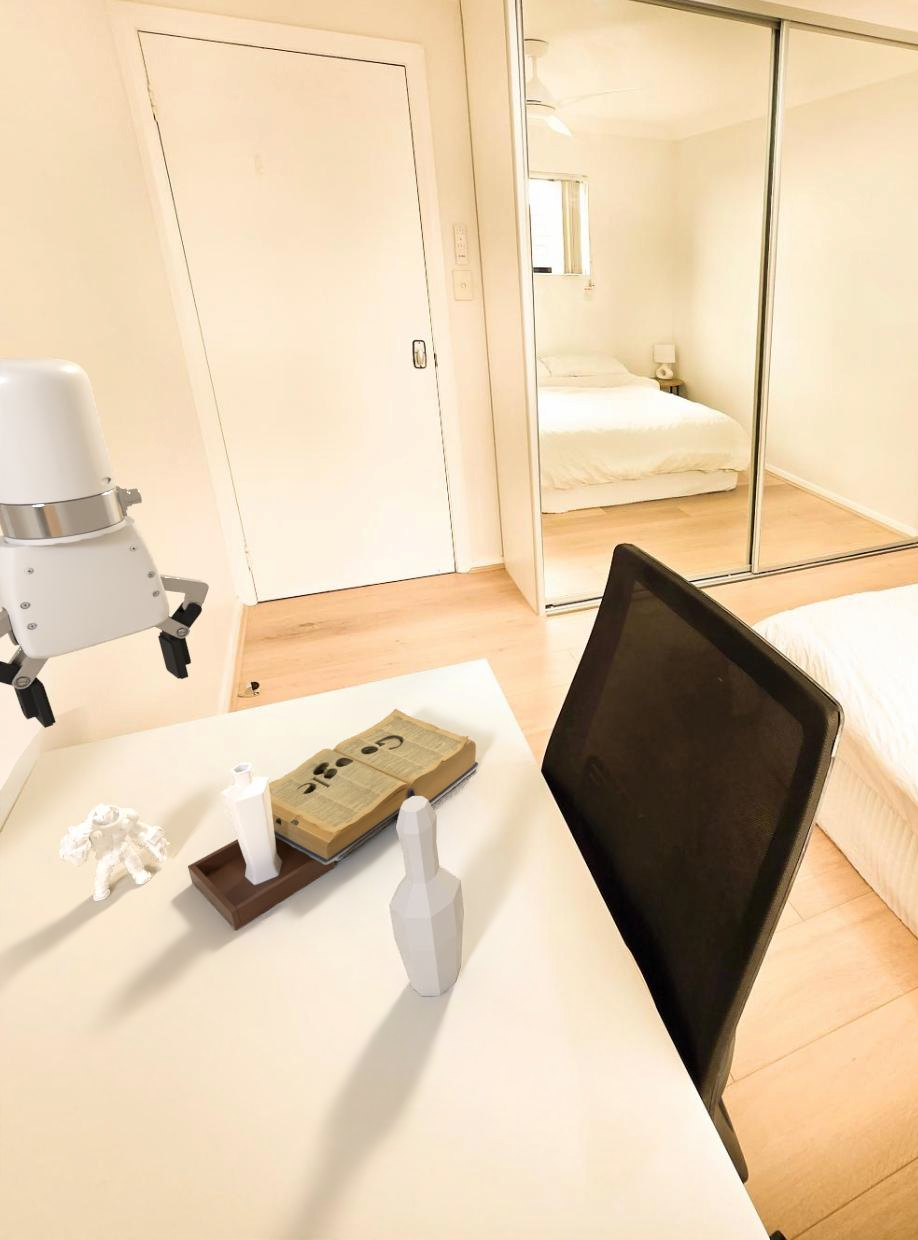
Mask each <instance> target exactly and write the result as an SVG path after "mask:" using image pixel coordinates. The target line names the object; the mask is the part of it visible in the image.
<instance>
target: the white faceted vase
mask: <svg viewBox="0 0 918 1240" xmlns="http://www.w3.org/2000/svg"><path fill="white" fill-rule="evenodd" d="M252 766H253V763H252V762H239V763H238V764H237V765H235V766H234V767H232V768H231V769H229V772H230V773H231V775H232V779H233V783H232V784H230V786H227V788H225V789H223V790H222V791H221V796H222V799H223V802H224V805H225V808H226V810H227V814H228V816H229V818H230V822H231V825H232V827H233V831H234V833H235V837H236V840H237V839H238V842H239V845H240V848H241V851H242V853H243V856H244V859H245V862H246V873H245V877H246V878H247V879H248V880H249V881H250V882H252V883H253V884H254V885H256V884H259V883H262V882H264V881H266V880H269V879H271V878H274V877H276V876H278V875H279V872H280V868H281V865H282V860H281V859H280V857H279V856H278V854H277V852H276V843H275V834H274V826H273V817H272V808H271V799H270V791H269V783H270V782H269V776H254V772H253V767H252Z"/></svg>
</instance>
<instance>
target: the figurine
mask: <svg viewBox="0 0 918 1240" xmlns="http://www.w3.org/2000/svg"><path fill="white" fill-rule="evenodd" d="M139 819H140V815H139V813H138V812H136V811H135V810H134V809H133V808H131V807H124V808H123V807H122V808H121V807H119V806H118V805H115V804H104V803H99V804H98V805H97V806H95V807H94V808H93V809H92V810H91V811H89V812H88V814H87V815H86V817H85V818H84V820H83V822H81V823H79V824H77V825H76V826H75V825H71V826H68V827H67V831H68V833H67V834H66V835H65V836H63V838H62V839H61V840H60V846H59V853H58V854H59V855H58V856H59V858H60V859H61V860H62V861H65V862H66V861H68V862H69V864H71V865H72V866H73V867H75V868H79V867H81V866H83V865H84V864H86V863H87V862H88V861H89V858H90V852H91V851H93V852H95V861H96V862H97V864H96V872H95V876H94V882H93V885H94V892H93V894H92V896H93V901H94V902H98V901H99V902H100V901H103V900H105V899H107V898H108V897H110V895H111V890H110V888H111V887H110V883H111V877H112V873H113V869H114V867H115V866H117V865H119V864H121V863H122V864H123V865H124V866H125V867H126V869H127V871H128V873H129V874H131V877H132V879H133V880H134V881H135V884H137V885H144V884H146V883H148V882H149V881H151V879H152V878H153V876H152V873H151V872H150V871H147V870H146V868H145V865H144V862H143V861H142V860H141V858H140V857H139V855H138V853H136V851H135V849H133V847H131V845H130V843H129V841H127V840H126V838H127V835H128V837H129V838H130V839H131V843H133V844H134V845H135V846H136V847H137V848H139V849H145V850H147V852H148V853H149V859H150V860H153V862H157V861H158V862H159V863H163V861H164V862H166V861H167V860H168V859H169V858H168V850H167V848H168V847H170V842H169V841H167V839H166V838H165V837H163V836H165V832H164V829H163V828H162V827H161V826H159V825H149V824H147V823H144V822H140V820H139Z"/></svg>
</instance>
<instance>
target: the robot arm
mask: <svg viewBox="0 0 918 1240" xmlns="http://www.w3.org/2000/svg"><path fill="white" fill-rule="evenodd" d="M142 502H143V499H142V494H141V492H140V490H139V489H138V488H136V487H135V488H129V489H127V488H121V486H119V485H117V481H116V477H115V472H114V469H113V466H112V462H111V457H110V453H109V450H108V446H107V442H106V437H105V434H104V430H103V427H102V421H101V418H100V415H99V411H98V407H97V403H96V398H95V395H94V391H93V387H92V383H91V381H90V378H89V375H88V374H87V372H86V371H85V369H83V367H82V366H80V365H79V364H78V363H76V362H74V361H72V360H68V359H63V358H55V357H0V529H1V531H2V535H0V639H1V638H3V637H4V636H6V635H8V637H9V640H10V641H11V643H12V644H13V645H14V646H19V647H18V648H17V649H16V651H15V652H14V654H13V655H12V657H11V658H10V660H9V661H8V662H5V661H1V660H0V683H2V684H5V685H8V686H11V687H13V688H14V692H15V694H16V698H17V701H18V703H19V704H18V705H19V707H20V710H21V712H22V714H23V716H24V718H25V719H26V720H30V719H31V720H32V719H34V718H35V719H36V720H37V721H38V722H39V723H40V724H41V725H42V726H43V728H44V729H46V728H50V727H52V726H54V724H56V718H55V715H54V712H53V710H52V709H53V708H52V707H51V702H50V700H49V697H48V694H47V691H46V687H45V685H44V683H43V682H42V681H41V680H40V679H39V678H38V675H39V673H40V672H41V670H42V669H43V668H44V666H45V665H46V663H47V662H48V660H49V659H51V658H56V657H59V656H63V655H67V654H70V653H74V652H78V651H80V650H81V651H82V650H84V649H87V648H90V647H94V646H95V647H96V646H98V645H101V644H105V643H107V642H111V641H115V640H118V639H121V638H125V637H128V636H131V635H135V634H138V633H141V632H144V631H147V630H150V629H154V628H156V629H158V630H160V631H159V635H158V636H157V638H158V643H159V645H160V649H161V652H162V658H163V662H164V665H165V666H164V667H165V669H166V671H167V672H168V673H170V674H171V675H173V676H174V678H177V679H178V680H184V679H186V678H189V671H188V668H187V665H190V664H191V663H192V659H191V656H190V651H189V647H188V642H187V637H188V636H189V634H190V632H191V631H190V628H191V627H192V626H193V625H194V624H195V622H196V620H197V619H198V618H199V616H200V615H201V613H202V612H203V608H202V606H203V604H204V602H205V600H206V597H207V595H208V591H209V589H210V586H209V584H208V583H207V582H205V581H203V580H202V579H201V580H200V579H197V578H188V577H181V576H175V575H168V574H161V573H160V572H159V569H158V567H157V564H156V561H155V560H154V557H153V554H152V552H151V550H150V548H149V545H148V542H147V541H146V540H147V539H146V538H145V536H144V534H143V532H142V531H141V529H140V527H139V525H138V523H137V522H136V520H135V519H134V518H133V517H131V516H129V515H128V512H127V511H128V510H129V509H128V508H130V507H133V505H137V504H141V503H142ZM166 592H173V593H182V594H184V597H183V601H182V602H181V603H180V605H179V606H178V607H177V609H176V610H175V612H174V613H173V614H172V615H171V616H170V605H169V600H168V596H167V593H166Z"/></svg>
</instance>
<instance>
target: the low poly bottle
mask: <svg viewBox="0 0 918 1240" xmlns="http://www.w3.org/2000/svg"><path fill="white" fill-rule="evenodd" d="M437 817H438V815H437V813H436V812H435V810H434V808H433V806H432V805H431V804H430V803H429V801H428V800H427V799H426V798H424V797H423V796H412V797H410V798H408V799H407V800H405V801H404V802H403V804H402V806H401V808H400V812H399V816H398V818H397V821H396V825H395V830H396V833H397V836H398V840H399V843H400V847H401V850H402V857H403V863H404V871H405V875H404V876H403V878H402V879H401V880H400V882H399V883H398V885H397V887H396V889H395V891H394V893H393V896H392V898H391V900H390V902H389V904H388V907H389V914H390V920H391V926H392V933H393V934H392V935H393V938H394V941H395V945H396V947H397V950H398V953H399V955H400V958H401V961H402V964H403V966H404V970H405V973H406V975H407V978H408V981H409V983H410V986H411V987H412V988H413V989H414V991H416V992H417V993H418V994H419V995H420V996H421V997H441V996H442V995H443V994H444V993H446V992H447V991H448V990H449V989H450V988H451V987H452V986H453V985H454V984H455V983H456V982H457V980H458V976H459V972H460V969H461V966H462V953H463V952H462V951H463V936H464V935H463V932H464V931H463V930H464V917H465V909H464V898H463V891H462V890H463V889H462V881H461V879H459V877H457V876H456V875H455V874H453V873H452V872H451V871H450V870H448V869H446V868H445V867H444V866H442V865H440V861H439V852H438V842H437V835H438V834H437V833H438V832H437V826H438V825H437V824H438V823H437V821H438V819H437Z"/></svg>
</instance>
